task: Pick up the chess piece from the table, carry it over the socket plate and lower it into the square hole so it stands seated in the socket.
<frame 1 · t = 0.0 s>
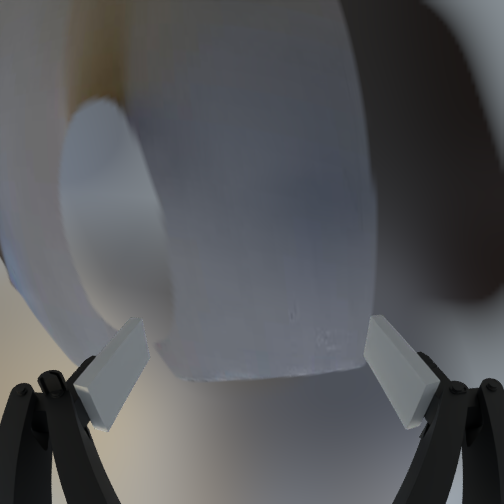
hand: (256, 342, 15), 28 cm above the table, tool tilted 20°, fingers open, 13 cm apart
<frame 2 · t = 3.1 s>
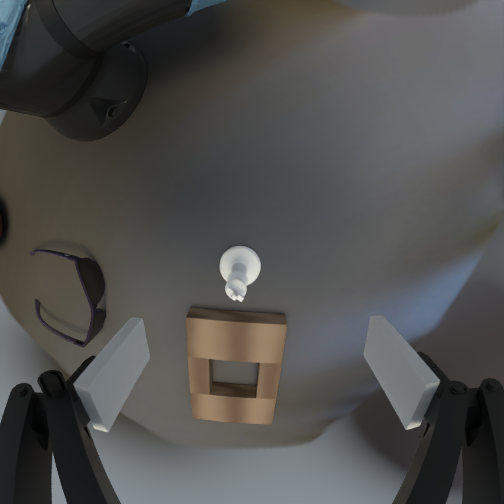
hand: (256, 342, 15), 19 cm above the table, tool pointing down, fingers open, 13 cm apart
socket plate: (235, 367, 37), on the table
chess piece: (240, 265, 34), on the table
sunglasses: (67, 288, 35), on the table
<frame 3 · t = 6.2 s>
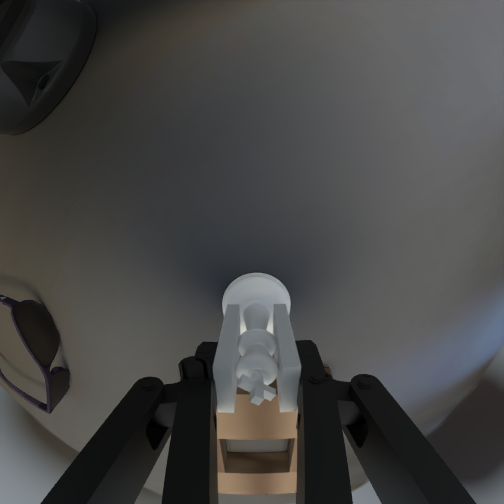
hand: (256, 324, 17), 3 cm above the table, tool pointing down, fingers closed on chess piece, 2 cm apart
socket plate: (257, 436, 23), on the table
chess piece: (256, 303, 20), on the table, touching gripper
sunglasses: (22, 336, 22), on the table
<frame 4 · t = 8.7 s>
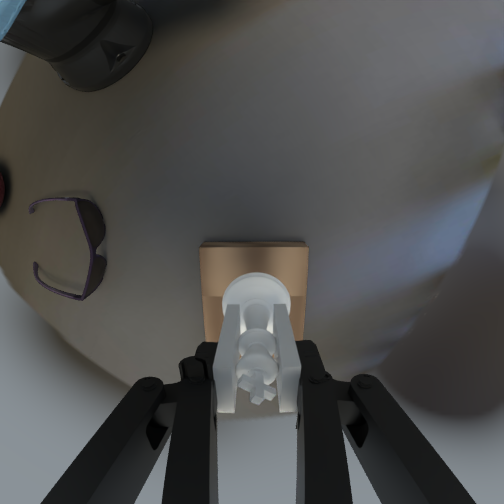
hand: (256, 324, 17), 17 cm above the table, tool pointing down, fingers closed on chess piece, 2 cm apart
socket plate: (254, 310, 35), on the table
chess piece: (256, 303, 20), point 14 cm above the table, touching gripper
decorative ball: (0, 189, 31), on the table
sunglasses: (67, 242, 34), on the table
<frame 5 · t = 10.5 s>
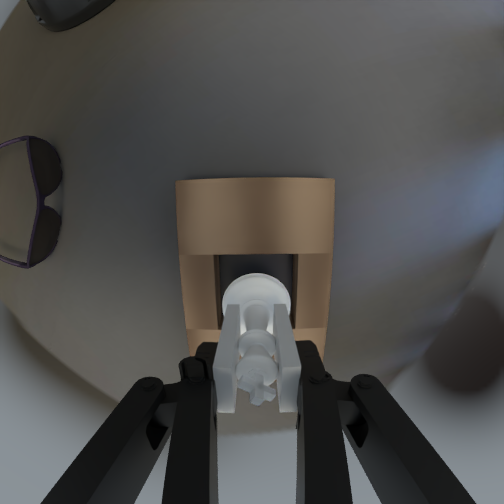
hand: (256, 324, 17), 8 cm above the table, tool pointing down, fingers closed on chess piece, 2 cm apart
socket plate: (256, 281, 25), on the table
chess piece: (256, 304, 20), point 5 cm above the table, touching gripper
sunglasses: (22, 200, 24), on the table
when the fingers open (4 cm above the table, at t = 11.7 s): chess piece drops 1 cm, resting in socket plate.
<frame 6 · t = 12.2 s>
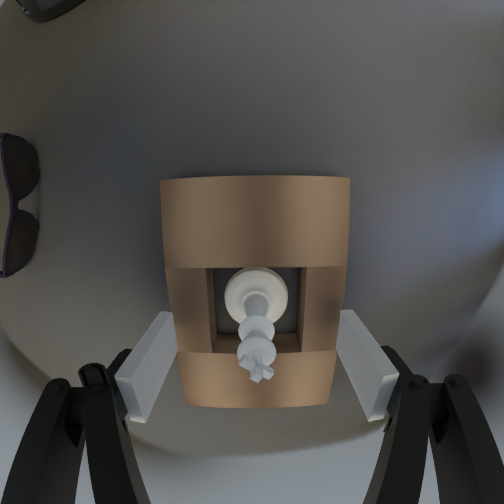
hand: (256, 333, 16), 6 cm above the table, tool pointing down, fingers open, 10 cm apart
socket plate: (256, 297, 21), on the table
chess piece: (256, 295, 21), resting in socket plate
sunglasses: (2, 203, 20), on the table
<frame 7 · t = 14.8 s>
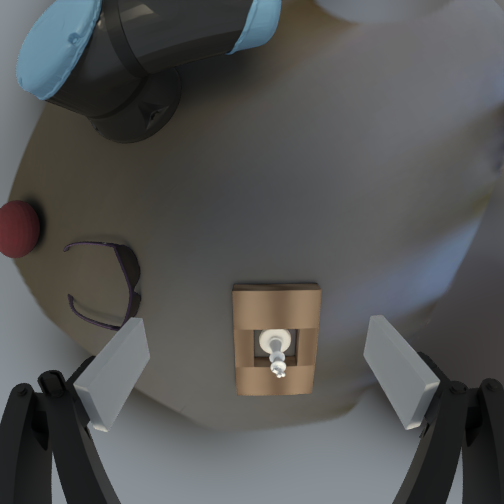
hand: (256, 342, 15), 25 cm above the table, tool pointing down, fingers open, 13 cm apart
socket plate: (275, 339, 41), on the table
chess piece: (274, 338, 41), resting in socket plate
decorative ball: (33, 225, 39), on the table
sunglasses: (102, 279, 41), on the table
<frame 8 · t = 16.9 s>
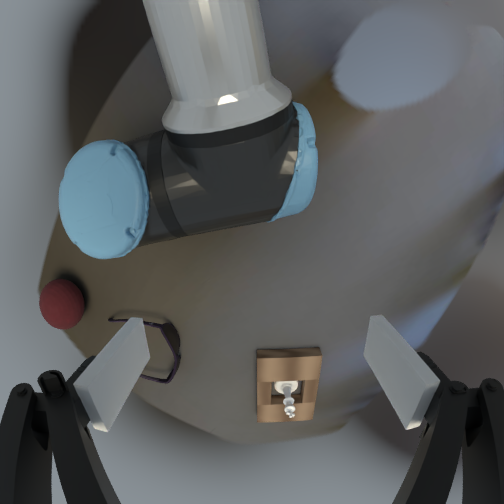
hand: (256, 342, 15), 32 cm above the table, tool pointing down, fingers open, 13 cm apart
socket plate: (286, 383, 52), on the table
chess piece: (286, 383, 52), resting in socket plate
decorative ball: (75, 295, 49), on the table
sunglasses: (145, 342, 51), on the table
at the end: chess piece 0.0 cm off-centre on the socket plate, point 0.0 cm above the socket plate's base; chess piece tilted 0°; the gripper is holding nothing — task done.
